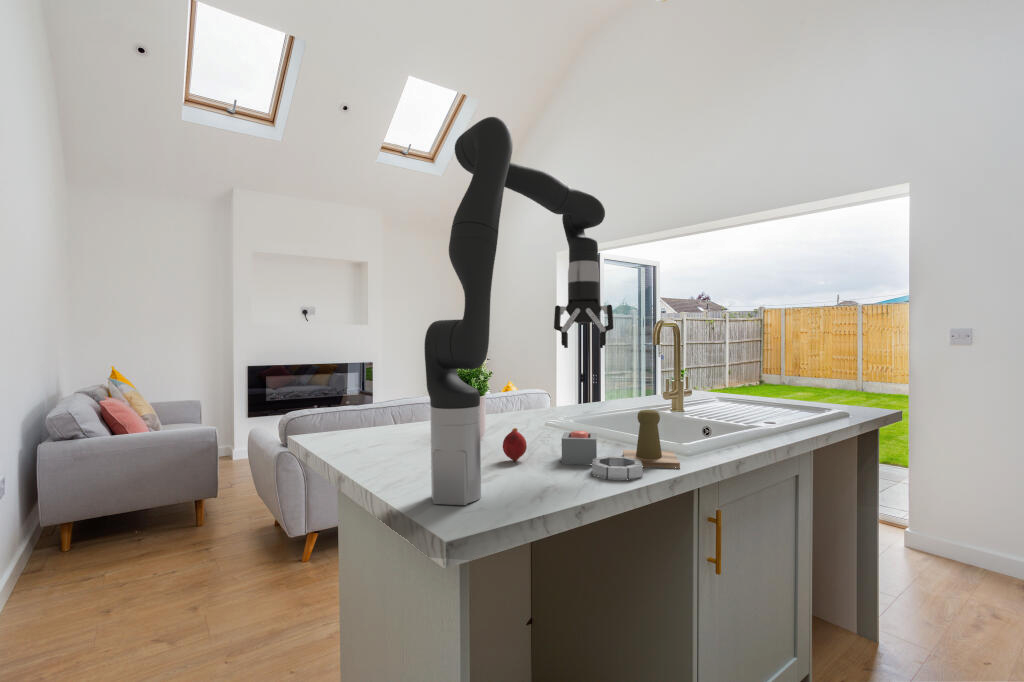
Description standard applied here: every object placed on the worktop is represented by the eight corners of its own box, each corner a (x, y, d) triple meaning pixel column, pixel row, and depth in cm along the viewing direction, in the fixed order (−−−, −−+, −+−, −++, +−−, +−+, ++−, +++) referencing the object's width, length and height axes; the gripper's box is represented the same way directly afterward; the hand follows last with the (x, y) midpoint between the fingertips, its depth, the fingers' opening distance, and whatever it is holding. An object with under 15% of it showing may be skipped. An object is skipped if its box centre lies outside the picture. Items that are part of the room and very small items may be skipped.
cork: (634, 457, 118) (633, 411, 118) (637, 452, 124) (637, 407, 124) (660, 460, 116) (660, 412, 116) (663, 454, 122) (662, 408, 122)
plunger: (587, 459, 119) (587, 434, 119) (570, 459, 120) (570, 433, 120) (588, 455, 123) (588, 431, 123) (571, 455, 124) (571, 430, 124)
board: (679, 468, 113) (679, 463, 113) (625, 466, 115) (625, 461, 115) (672, 456, 125) (672, 451, 125) (623, 454, 127) (623, 449, 127)
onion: (522, 464, 118) (522, 430, 118) (499, 463, 120) (499, 429, 120) (529, 459, 124) (529, 426, 123) (507, 457, 125) (507, 425, 125)
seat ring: (643, 481, 103) (643, 468, 103) (592, 479, 105) (591, 467, 105) (640, 468, 114) (639, 456, 114) (593, 466, 116) (592, 455, 116)
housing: (596, 465, 117) (596, 439, 117) (561, 464, 118) (561, 438, 118) (596, 457, 125) (596, 432, 125) (564, 456, 126) (564, 432, 126)
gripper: (552, 280, 121) (552, 348, 120) (613, 278, 118) (613, 348, 117) (556, 284, 128) (556, 348, 128) (613, 282, 125) (613, 348, 125)
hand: (583, 348), depth 123 cm, fingers open, 8 cm apart
